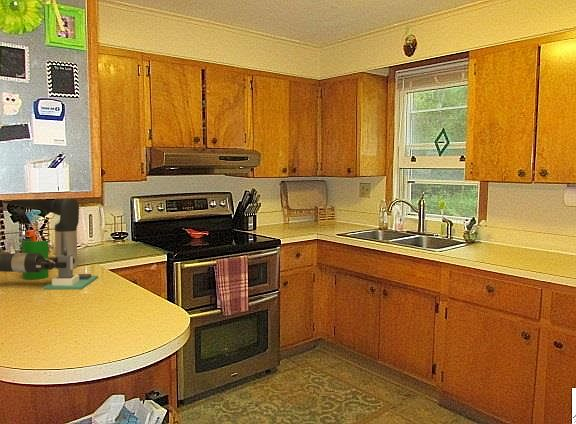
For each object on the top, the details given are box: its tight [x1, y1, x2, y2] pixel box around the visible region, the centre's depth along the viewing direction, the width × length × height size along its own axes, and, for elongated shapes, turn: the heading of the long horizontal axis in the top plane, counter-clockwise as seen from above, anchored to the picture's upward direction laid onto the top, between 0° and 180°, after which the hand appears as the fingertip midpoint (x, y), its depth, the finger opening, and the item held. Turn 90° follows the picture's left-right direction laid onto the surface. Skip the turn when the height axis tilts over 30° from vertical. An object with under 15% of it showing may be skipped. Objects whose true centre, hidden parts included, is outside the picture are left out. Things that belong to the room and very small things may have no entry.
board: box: [43, 273, 99, 290], centre depth 193 cm, size 20×14×4 cm
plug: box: [57, 248, 74, 279], centre depth 188 cm, size 4×5×14 cm
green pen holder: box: [21, 229, 49, 280], centre depth 202 cm, size 10×9×20 cm
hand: (70, 263), depth 189 cm, fingers open, 8 cm apart
